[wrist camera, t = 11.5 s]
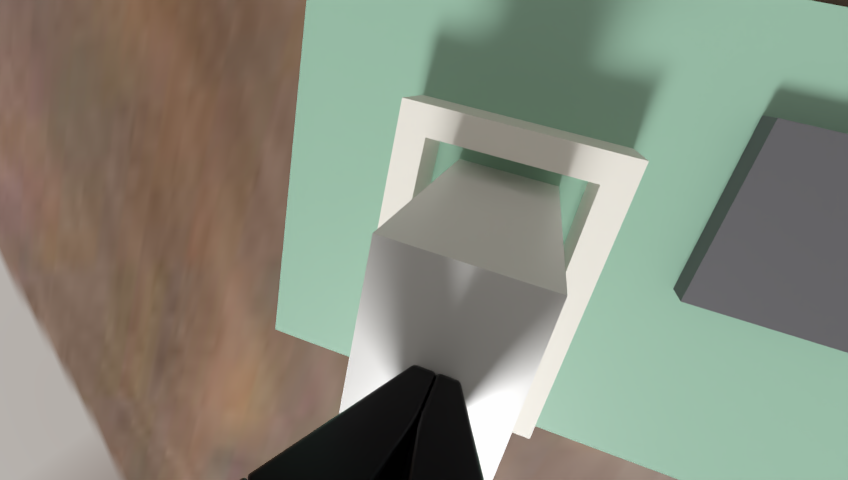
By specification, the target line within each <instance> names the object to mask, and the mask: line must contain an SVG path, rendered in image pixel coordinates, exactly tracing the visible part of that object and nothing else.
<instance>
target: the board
mask: <svg viewBox="0 0 848 480" xmlns="http://www.w3.org/2000/svg"><path fill="white" fill-rule="evenodd" d="M459 159H462V160H466V161H469V162H473V163H476V164H480V165H484V166H487V167H491V168H494V169H498V170H502V171H505V172H509V173H512V174H516V175H519V176H523V177H527V178H530V179H534V180H537V181H541V182H545V183H548V184H552V185H555V186H559V194H560V206H561V219H562V232H563V244H564V257H565V270H566V282H567V295H568V296H567V298H566V301H565V303H564V306H563V308H562V311H561V313H560V315H559V318H558V320H557V323H556V325H555V328H554V330H553V333H552V335H551V338H550V340H549V342H548V345H547V347H546V350H545V352H544V355H543V357H542V360H541V362H540V365H539V367H538V370H537V372H536V374H535V377H534V379H533V382H532V384H531V387H530V389H529V392H528V394H527V397H526V399H525V401H524V404H523V406H522V409H521V411H520V414H519V416H518V419H517V421H516V424H515V426H514V429H513V431H512V432H513V433H515V434H518V435H521V436H523V437H526V438H529V439H530V437H531V434H532V432H533V430H534V427H535V426H536V427H539V428H542V429H544V430H547V431H550V432H552V433H555V434H558V435H561V436H563V437H566V438H569V439H571V440H574V441H577V442H579V443H582V444H585V445H587V446H590V447H593V448H595V449H598V450H601V451H603V452H606V453H609V454H612V455H614V456H617V457H620V458H622V459H625V460H628V461H630V462H633V463H636V464H638V465H641V466H644V467H646V468H649V469H652V470H654V471H657V472H660V473H663V474H665V475H668V476H671V477H673V478H676V479H679V480H848V7H844V6H839V5H833V4H828V3H823V2H817V1H812V0H307V1H306V12H305V22H304V33H303V43H302V54H301V64H300V75H299V86H298V96H297V107H296V117H295V128H294V138H293V149H292V159H291V170H290V180H289V191H288V201H287V212H286V222H285V233H284V243H283V254H282V265H281V275H280V286H279V296H278V307H277V317H276V328H275V329H276V330H279V331H281V332H284V333H287V334H289V335H292V336H295V337H297V338H300V339H303V340H305V341H308V342H311V343H314V344H316V345H319V346H322V347H324V348H327V349H330V350H332V351H335V352H338V353H340V354H343V355H346V356H348V357H350V352H351V346H352V341H353V336H354V330H355V325H356V320H357V314H358V309H359V303H360V298H361V293H362V287H363V282H364V276H365V271H366V266H367V260H368V255H369V249H370V244H371V239H372V233H373V232H375V231H376V230H377V229H378V228H379V227H380V226H382V225H383V224H384V223H385V222H386V221H387V220H389V219H390V218H391V217H392V216H393V215H394V214H396V213H397V212H398V211H399V210H400V209H401V208H403V207H404V206H405V205H406V204H407V203H408V202H410V201H411V200H412V199H413V198H414V197H415V196H417V195H418V194H419V193H420V192H421V191H422V190H424V189H425V188H426V187H427V186H428V185H429V184H431V183H432V182H433V181H434V180H435V179H436V178H438V177H439V176H440V175H441V174H442V173H443V172H445V171H446V170H447V169H448V168H449V167H451V166H452V165H453V164H454V163H455V162H456V161H458V160H459Z"/></svg>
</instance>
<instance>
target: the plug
mask: <svg viewBox="0 0 848 480" xmlns="http://www.w3.org/2000/svg"><path fill="white" fill-rule="evenodd" d="M567 296H568V295H567V282H566V270H565V257H564V244H563V232H562V219H561V206H560V194H559V186H555V185H552V184H548V183H545V182H541V181H537V180H534V179H530V178H527V177H523V176H519V175H516V174H512V173H509V172H505V171H502V170H498V169H494V168H491V167H487V166H484V165H480V164H476V163H473V162H469V161H466V160H462V159H459V160H458V161H456V162H455V163H454V164H453V165H452V166H451V167H449V168H448V169H447V170H446V171H445V172H443V173H442V174H441V175H440V176H439V177H438V178H436V179H435V180H434V181H433V182H432V183H431V184H429V185H428V186H427V187H426V188H425V189H424V190H422V191H421V192H420V193H419V194H418V195H417V196H415V197H414V198H413V199H412V200H411V201H410V202H408V203H407V204H406V205H405V206H404V207H403V208H401V209H400V210H399V211H398V212H397V213H396V214H394V215H393V216H392V217H391V218H390V219H389V220H387V221H386V222H385V223H384V224H383V225H382V226H380V227H379V228H378V229H377V230H376V231H375V232H373V233H372V239H371V244H370V249H369V255H368V260H367V266H366V271H365V276H364V282H363V287H362V293H361V298H360V303H359V309H358V314H357V320H356V325H355V330H354V336H353V341H352V346H351V352H350V357H349V363H348V368H347V373H346V379H345V384H344V390H343V395H342V400H341V406H340V411H339V414H340V413H341V412H343V411H344V410H346V409H347V408H349V407H350V406H352V405H353V404H355V403H356V402H358V401H359V400H361V399H362V398H364V397H365V396H367V395H368V394H370V393H371V392H373V391H374V390H376V389H377V388H379V387H380V386H382V385H383V384H385V383H386V382H388V381H389V380H391V379H392V378H394V377H395V376H397V375H398V374H400V373H401V372H403V371H404V370H406V369H407V368H409V367H410V366H412V365H418V366H421V367H423V368H426V369H429V370H432V371H434V372H435V377H436V375H438V374H443V375H445V376H448V377H451V378H454V379H456V380H458V381H459V382H460V383H461V386H462V390H463V394H464V399H465V403H466V407H467V411H468V415H469V419H470V424H471V428H472V432H473V436H474V440H475V444H476V449H477V453H478V457H479V461H480V465H481V469H482V474H483V478H484V480H493V478H494V475H495V473H496V470H497V468H498V465H499V463H500V460H501V458H502V456H503V453H504V451H505V448H506V446H507V443H508V441H509V438H510V436H511V433H512V431H513V429H514V426H515V424H516V421H517V419H518V416H519V414H520V411H521V409H522V406H523V404H524V401H525V399H526V397H527V394H528V392H529V389H530V387H531V384H532V382H533V379H534V377H535V374H536V372H537V370H538V367H539V365H540V362H541V360H542V357H543V355H544V352H545V350H546V347H547V345H548V342H549V340H550V338H551V335H552V333H553V330H554V328H555V325H556V323H557V320H558V318H559V315H560V313H561V311H562V308H563V306H564V303H565V301H566V298H567Z"/></svg>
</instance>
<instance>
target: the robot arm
mask: <svg viewBox="0 0 848 480" xmlns="http://www.w3.org/2000/svg"><path fill="white" fill-rule="evenodd" d="M240 480H247V479H246V478H242V479H240ZM248 480H484V478H483V474H482V469H481V465H480V461H479V457H478V453H477V449H476V444H475V440H474V436H473V432H472V428H471V424H470V419H469V415H468V411H467V407H466V403H465V399H464V394H463V390H462V386H461V383H460V382H459V381H458V380H456V379H454V378H451V377H448V376H445V375H443V374H438V375H436V377H435V372H434V371H432V370H429V369H426V368H423V367H421V366H418V365H412V366H410V367H409V368H407V369H406V370H404V371H403V372H401V373H400V374H398V375H397V376H395V377H394V378H392V379H391V380H389V381H388V382H386V383H385V384H383V385H382V386H380V387H379V388H377V389H376V390H374V391H373V392H371V393H370V394H368V395H367V396H365V397H364V398H362V399H361V400H359V401H358V402H356V403H355V404H353V405H352V406H350V407H349V408H347V409H346V410H344V411H343V412H341V413H340V414H338V415H337V416H335V417H334V418H332V419H331V420H329V421H328V422H326V423H325V424H323V425H322V426H320V427H319V428H317V429H316V430H314V431H313V432H311V433H310V434H308V435H307V436H305V437H304V438H302V439H301V440H299V441H298V442H296V443H295V444H293V445H292V446H290V447H289V448H287V449H286V450H284V451H283V452H281V453H280V454H278V455H277V456H275V457H274V458H272V459H271V460H269V461H268V462H266V463H265V464H263V465H262V466H260V467H259V468H257V469H256V470H254V471H253V472H251V473H250V474H249V475H248Z"/></svg>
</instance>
